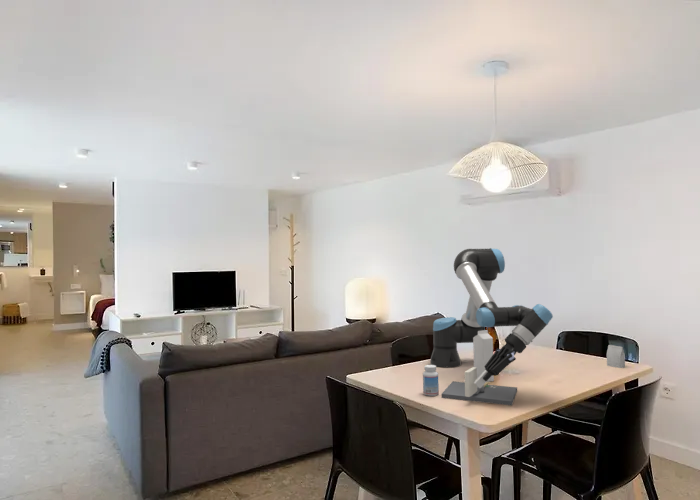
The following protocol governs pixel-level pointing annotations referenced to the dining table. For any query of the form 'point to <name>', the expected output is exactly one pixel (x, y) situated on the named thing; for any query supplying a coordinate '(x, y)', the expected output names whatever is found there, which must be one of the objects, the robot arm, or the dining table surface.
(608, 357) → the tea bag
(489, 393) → the dark grey flat slab
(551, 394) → the dining table surface
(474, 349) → the milk
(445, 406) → the dining table surface
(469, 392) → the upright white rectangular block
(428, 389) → the pill bottle
